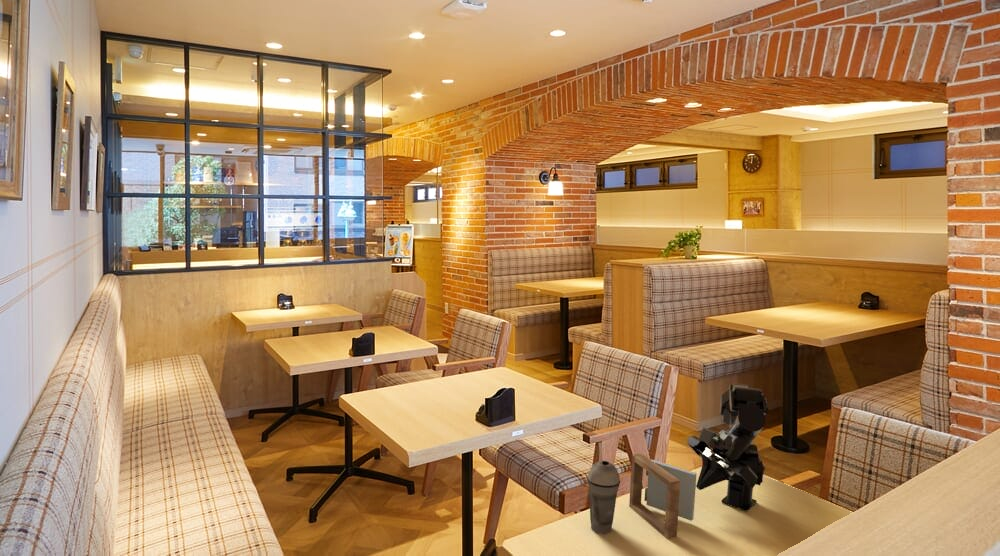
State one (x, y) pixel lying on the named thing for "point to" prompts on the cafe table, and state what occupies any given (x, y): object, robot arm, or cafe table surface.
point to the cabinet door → (658, 490)
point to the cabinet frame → (672, 497)
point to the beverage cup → (602, 494)
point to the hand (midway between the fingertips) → (698, 488)
